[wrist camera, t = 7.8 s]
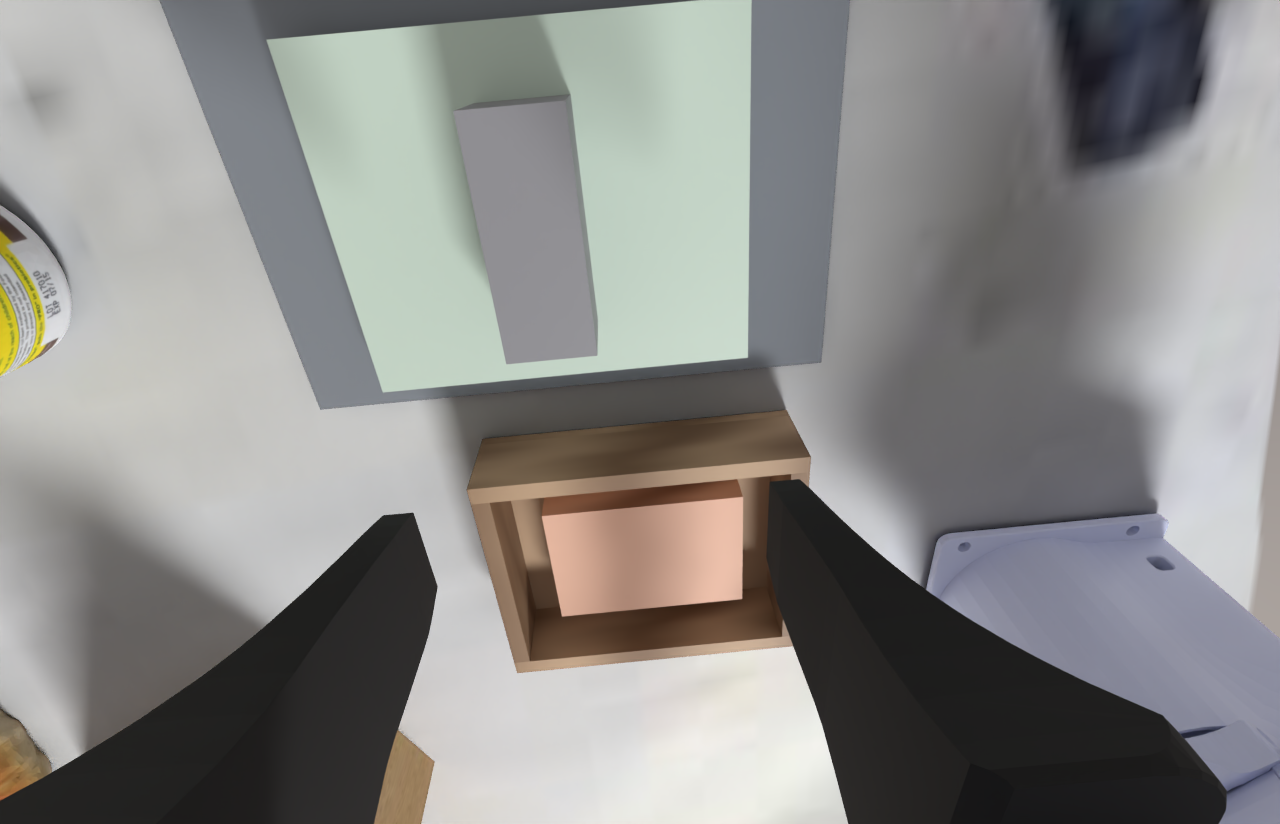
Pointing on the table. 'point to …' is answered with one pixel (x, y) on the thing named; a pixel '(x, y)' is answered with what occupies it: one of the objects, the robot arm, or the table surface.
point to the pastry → (18, 758)
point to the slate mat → (338, 3)
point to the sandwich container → (404, 784)
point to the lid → (535, 188)
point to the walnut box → (635, 538)
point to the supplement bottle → (29, 295)
